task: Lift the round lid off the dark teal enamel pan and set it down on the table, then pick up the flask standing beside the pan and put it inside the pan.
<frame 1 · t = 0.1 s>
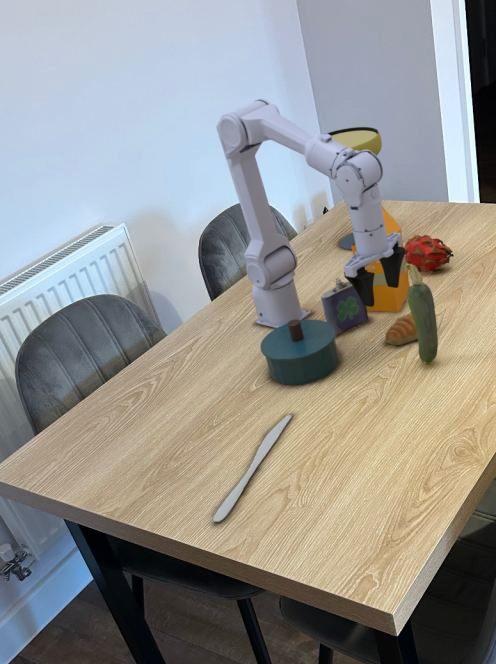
hand: (381, 295, 140), 10 cm above the table, tool pointing down, fingers open, 7 cm apart
cocktail glass: (361, 241, 190), on the table
pastry: (410, 335, 147), on the table
butter knife: (254, 466, 122), on the table
vegetable: (430, 366, 136), on the table
flask: (349, 328, 154), on the table
pan: (304, 365, 145), on the table
dragon fruit: (429, 269, 169), on the table
lid: (298, 340, 141), point 5 cm above the table, touching pan
orange juice: (387, 302, 160), on the table
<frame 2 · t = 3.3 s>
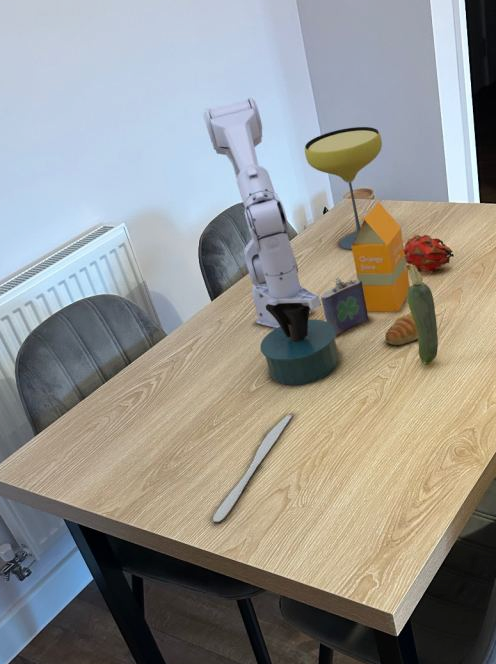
hand: (297, 336, 141), 7 cm above the table, tool pointing down, fingers closed on lid, 2 cm apart
lid: (298, 340, 141), point 5 cm above the table, touching gripper, pan
everything else where it was.
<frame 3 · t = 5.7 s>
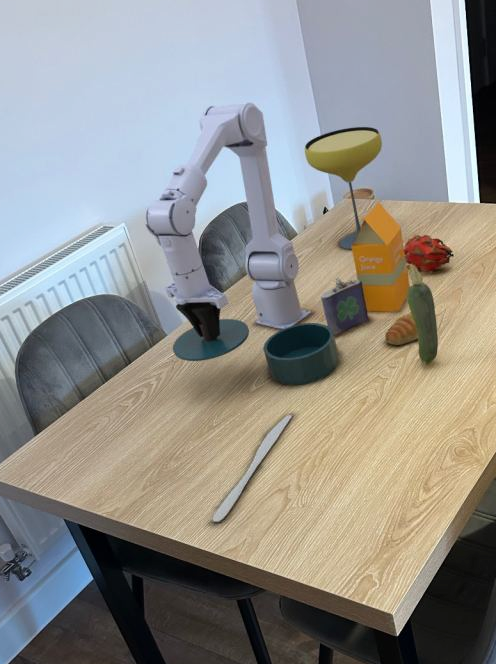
hand: (209, 335, 140), 10 cm above the table, tool pointing down, fingers closed on lid, 2 cm apart
lid: (211, 340, 140), point 9 cm above the table, touching gripper
everything else where it was.
when the fingers open (2 cm above the table, at t = 8.0 s): lid stays where it is, point 1 cm above the table.
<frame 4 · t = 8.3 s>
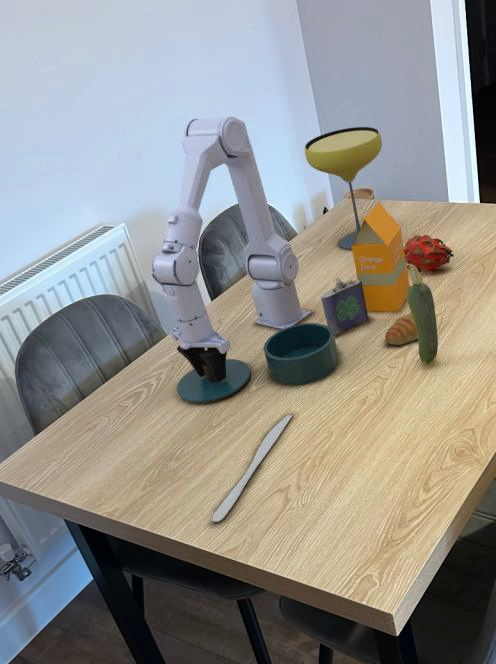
hand: (212, 376, 145), 2 cm above the table, tool pointing down, fingers open, 4 cm apart
lid: (214, 381, 145), point 1 cm above the table
everything else where it was.
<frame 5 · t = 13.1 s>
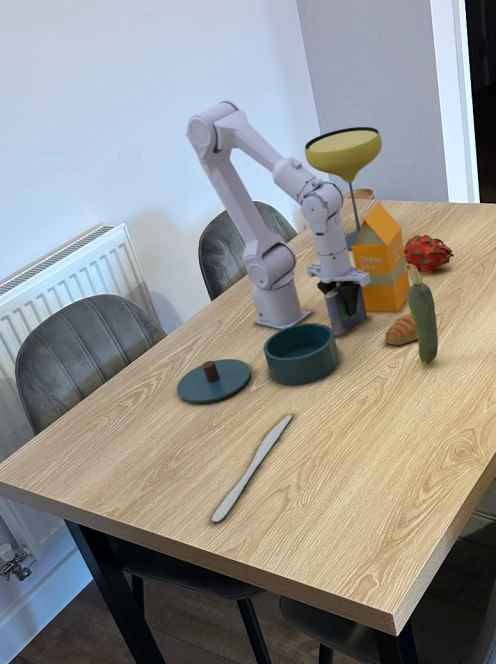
hand: (345, 312, 152), 3 cm above the table, tool pointing down, fingers closed on flask, 3 cm apart
flask: (350, 327, 154), on the table, touching gripper
everything else where it was.
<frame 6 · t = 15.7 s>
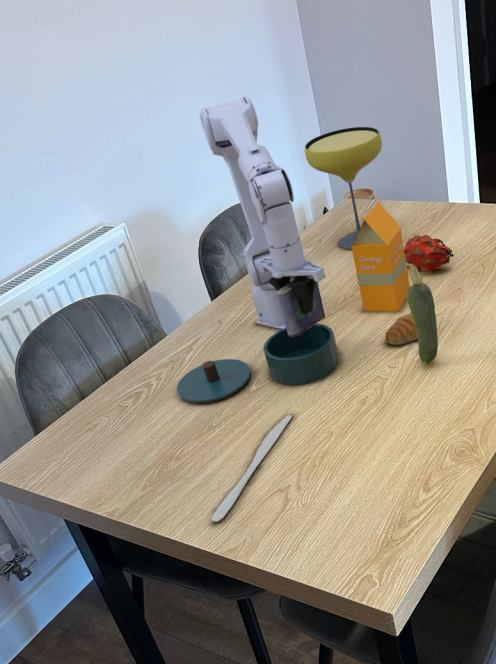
hand: (301, 310, 140), 10 cm above the table, tool pointing down, fingers closed on flask, 3 cm apart
flask: (307, 326, 142), point 7 cm above the table, touching gripper
everything else where it was.
when the fingers open (4 cm above the table, at t = 18.2 s): flask stays where it is, resting on pan.
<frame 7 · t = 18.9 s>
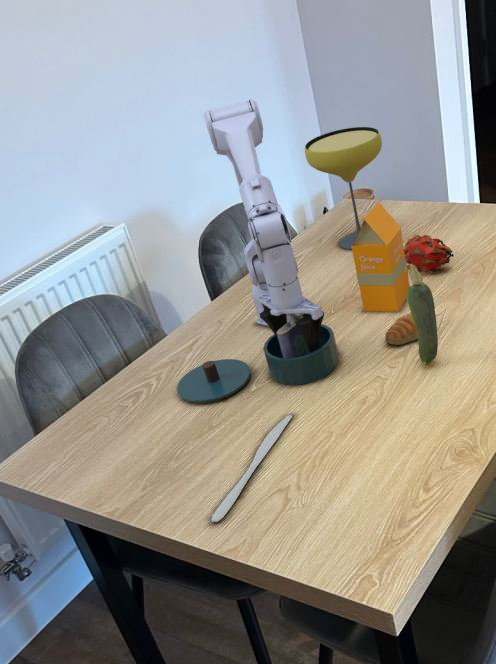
hand: (299, 345, 142), 4 cm above the table, tool pointing down, fingers open, 7 cm apart
flask: (305, 363, 145), resting on pan
everything else where it was.
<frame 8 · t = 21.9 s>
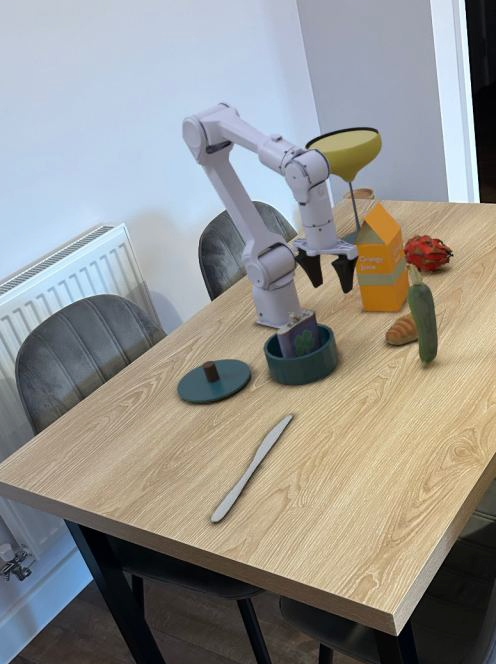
hand: (333, 288, 145), 10 cm above the table, tool pointing down, fingers open, 7 cm apart
nothing on the table moved.
at the end: lid inside the target area (0.1 cm from its centre), point 0.6 cm above the table; flask inside the target area in the pan (0.3 cm from its centre), point 0.3 cm above the pan's base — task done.
